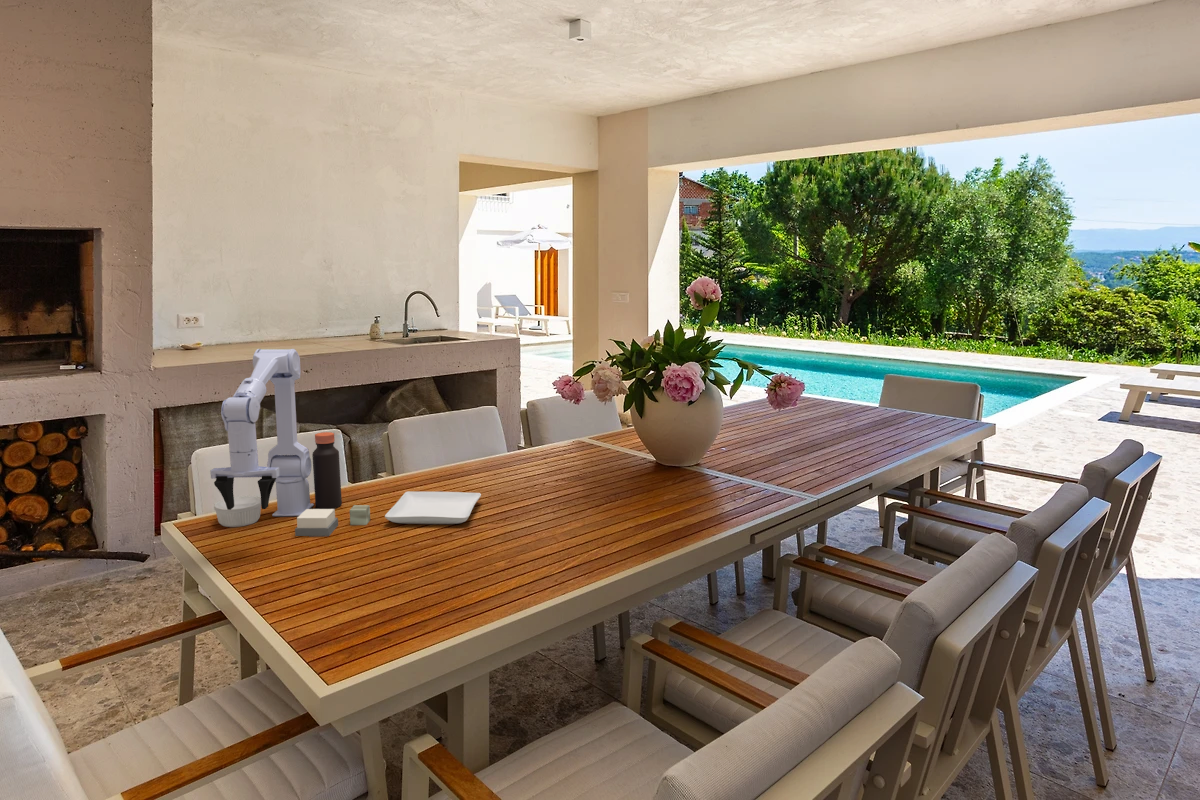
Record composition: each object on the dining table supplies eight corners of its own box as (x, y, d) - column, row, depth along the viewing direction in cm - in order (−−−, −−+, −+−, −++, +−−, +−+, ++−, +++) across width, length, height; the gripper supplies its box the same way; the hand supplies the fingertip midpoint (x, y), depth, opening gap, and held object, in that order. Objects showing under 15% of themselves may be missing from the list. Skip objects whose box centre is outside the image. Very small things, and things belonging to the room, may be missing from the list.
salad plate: (468, 529, 196) (467, 516, 196) (383, 528, 197) (383, 515, 196) (482, 503, 217) (482, 491, 216) (406, 502, 217) (405, 490, 217)
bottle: (314, 504, 215) (309, 432, 211) (340, 501, 218) (336, 430, 214) (316, 511, 209) (312, 437, 205) (343, 507, 212) (339, 435, 208)
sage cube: (354, 520, 202) (353, 505, 201) (370, 520, 202) (369, 505, 201) (350, 525, 198) (349, 510, 197) (366, 525, 198) (365, 510, 197)
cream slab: (306, 518, 197) (306, 509, 196) (335, 518, 197) (334, 508, 196) (297, 528, 190) (296, 518, 189) (326, 527, 190) (326, 518, 190)
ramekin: (229, 532, 193) (227, 511, 192) (206, 523, 200) (205, 503, 199) (272, 520, 202) (270, 500, 201) (248, 512, 208) (247, 492, 207)
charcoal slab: (306, 527, 198) (305, 518, 197) (338, 527, 198) (337, 517, 197) (295, 538, 190) (294, 529, 189) (329, 538, 190) (328, 528, 190)
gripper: (202, 454, 172) (207, 514, 174) (269, 453, 173) (274, 513, 175) (216, 447, 179) (221, 504, 181) (281, 446, 180) (285, 503, 182)
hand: (247, 508), depth 179 cm, fingers open, 7 cm apart
